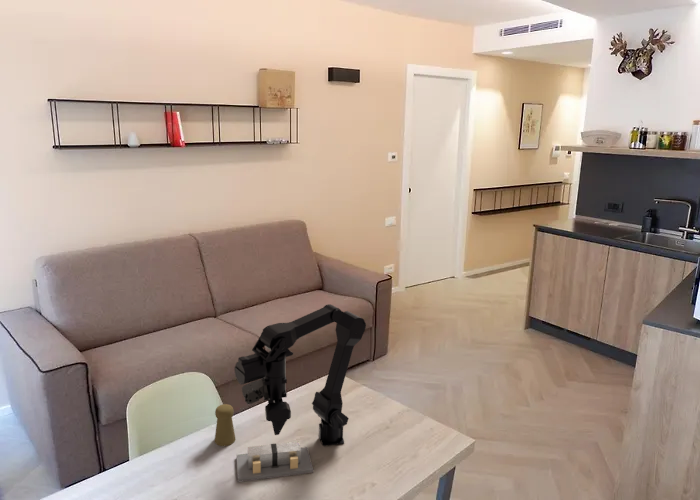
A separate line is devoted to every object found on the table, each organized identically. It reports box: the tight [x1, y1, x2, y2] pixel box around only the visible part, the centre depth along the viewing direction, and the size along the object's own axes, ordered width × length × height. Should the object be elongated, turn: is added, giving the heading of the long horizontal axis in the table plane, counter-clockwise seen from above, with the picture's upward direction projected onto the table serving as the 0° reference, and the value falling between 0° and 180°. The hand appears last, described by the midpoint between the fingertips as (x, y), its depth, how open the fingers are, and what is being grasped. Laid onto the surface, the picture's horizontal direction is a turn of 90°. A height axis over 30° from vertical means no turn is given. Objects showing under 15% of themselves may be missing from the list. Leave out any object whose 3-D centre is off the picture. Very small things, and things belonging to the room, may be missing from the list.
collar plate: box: [236, 446, 314, 483], centre depth 145 cm, size 20×10×4 cm, turn 104°
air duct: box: [247, 440, 301, 469], centre depth 145 cm, size 14×4×4 cm, turn 104°
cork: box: [214, 403, 236, 447], centre depth 154 cm, size 6×6×11 cm
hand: (274, 424), depth 144 cm, fingers open, 9 cm apart
